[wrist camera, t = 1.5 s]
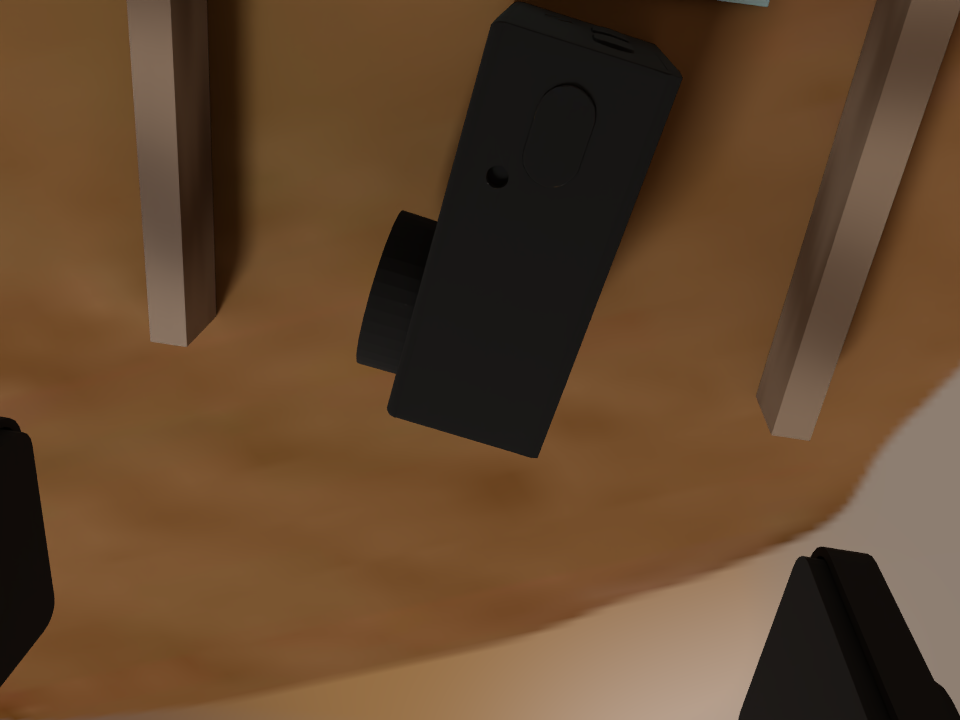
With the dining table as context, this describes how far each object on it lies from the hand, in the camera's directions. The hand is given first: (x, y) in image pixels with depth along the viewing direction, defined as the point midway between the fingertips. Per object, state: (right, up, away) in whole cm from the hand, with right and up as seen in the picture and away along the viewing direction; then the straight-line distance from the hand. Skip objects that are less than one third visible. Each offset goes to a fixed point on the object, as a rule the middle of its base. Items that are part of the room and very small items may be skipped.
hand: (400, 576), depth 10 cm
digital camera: (+2, +8, +16) cm, 18 cm away
